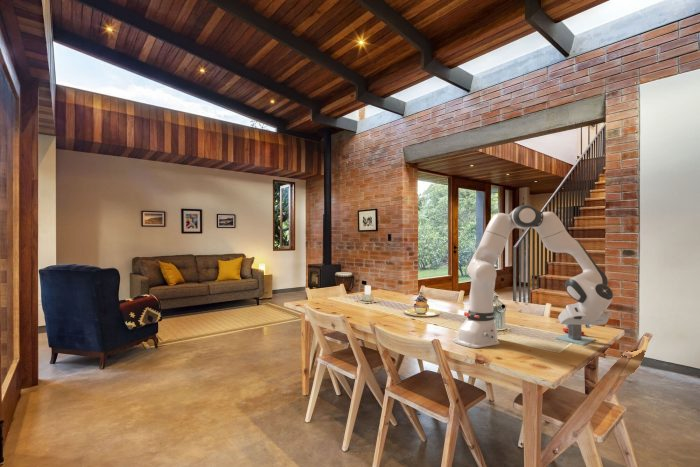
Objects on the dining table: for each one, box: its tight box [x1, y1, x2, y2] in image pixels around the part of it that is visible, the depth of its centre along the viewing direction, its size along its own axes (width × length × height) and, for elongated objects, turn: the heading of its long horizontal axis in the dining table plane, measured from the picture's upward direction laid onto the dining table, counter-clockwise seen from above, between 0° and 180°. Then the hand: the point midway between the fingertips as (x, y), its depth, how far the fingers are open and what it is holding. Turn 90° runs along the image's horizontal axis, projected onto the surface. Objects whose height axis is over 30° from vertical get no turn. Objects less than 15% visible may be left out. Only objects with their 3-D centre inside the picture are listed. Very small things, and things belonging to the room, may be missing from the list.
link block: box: [567, 324, 582, 340], centre depth 168 cm, size 4×4×9 cm
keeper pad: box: [555, 332, 596, 346], centre depth 168 cm, size 13×12×1 cm
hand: (576, 326), depth 166 cm, fingers open, 8 cm apart
